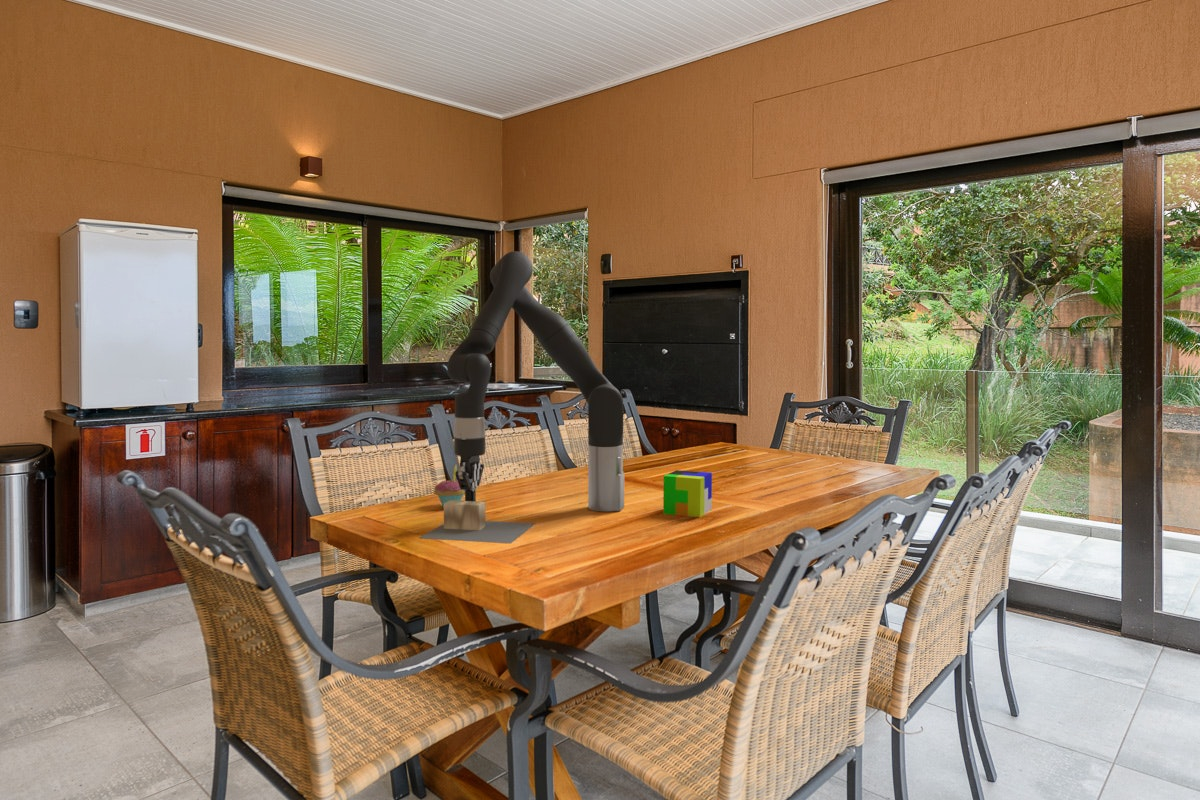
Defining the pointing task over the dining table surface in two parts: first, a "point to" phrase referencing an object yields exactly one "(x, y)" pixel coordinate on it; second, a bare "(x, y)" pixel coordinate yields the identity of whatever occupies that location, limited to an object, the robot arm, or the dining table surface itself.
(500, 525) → the mat
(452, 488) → the cupcake
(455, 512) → the block
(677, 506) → the puzzle toy
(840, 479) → the dining table surface
